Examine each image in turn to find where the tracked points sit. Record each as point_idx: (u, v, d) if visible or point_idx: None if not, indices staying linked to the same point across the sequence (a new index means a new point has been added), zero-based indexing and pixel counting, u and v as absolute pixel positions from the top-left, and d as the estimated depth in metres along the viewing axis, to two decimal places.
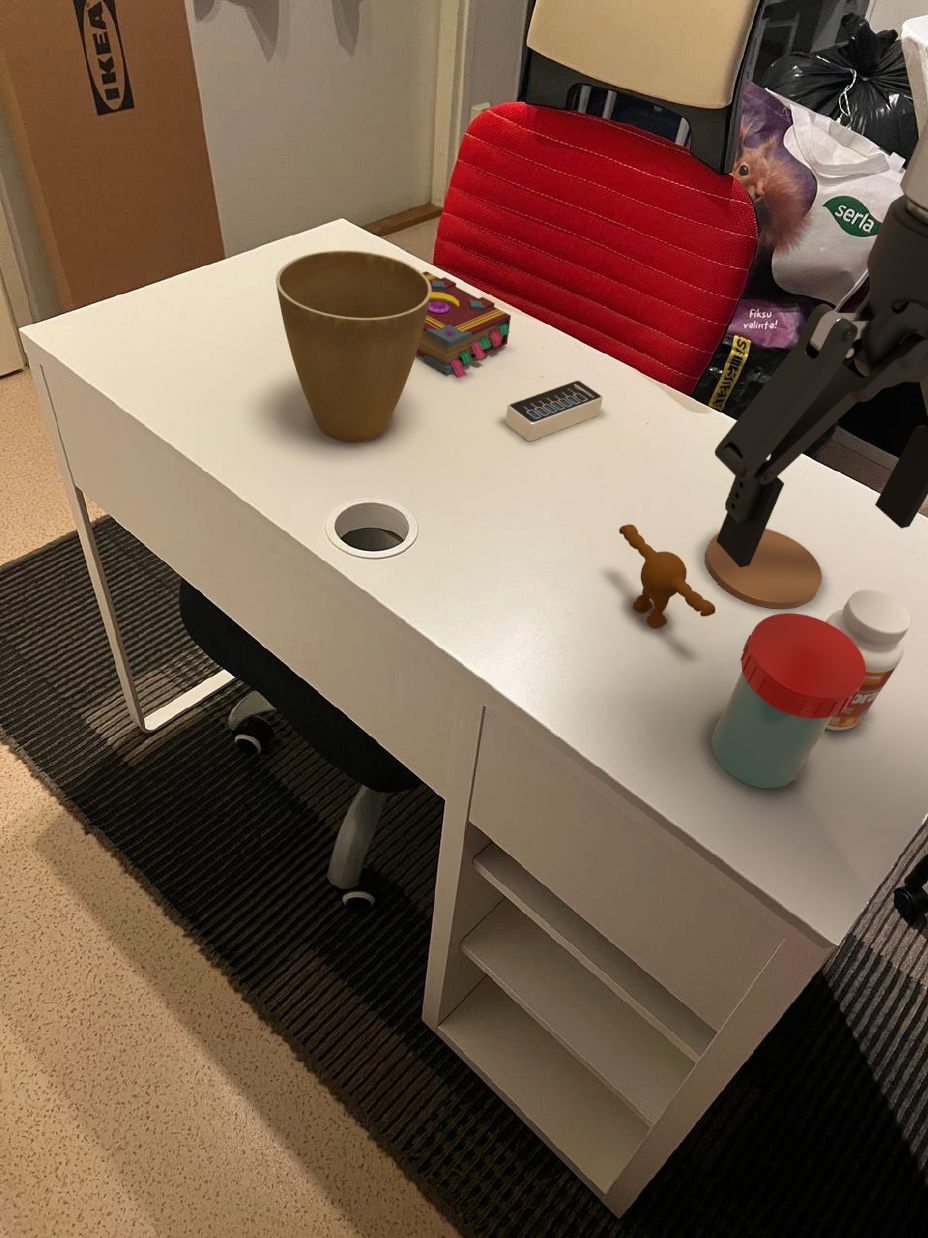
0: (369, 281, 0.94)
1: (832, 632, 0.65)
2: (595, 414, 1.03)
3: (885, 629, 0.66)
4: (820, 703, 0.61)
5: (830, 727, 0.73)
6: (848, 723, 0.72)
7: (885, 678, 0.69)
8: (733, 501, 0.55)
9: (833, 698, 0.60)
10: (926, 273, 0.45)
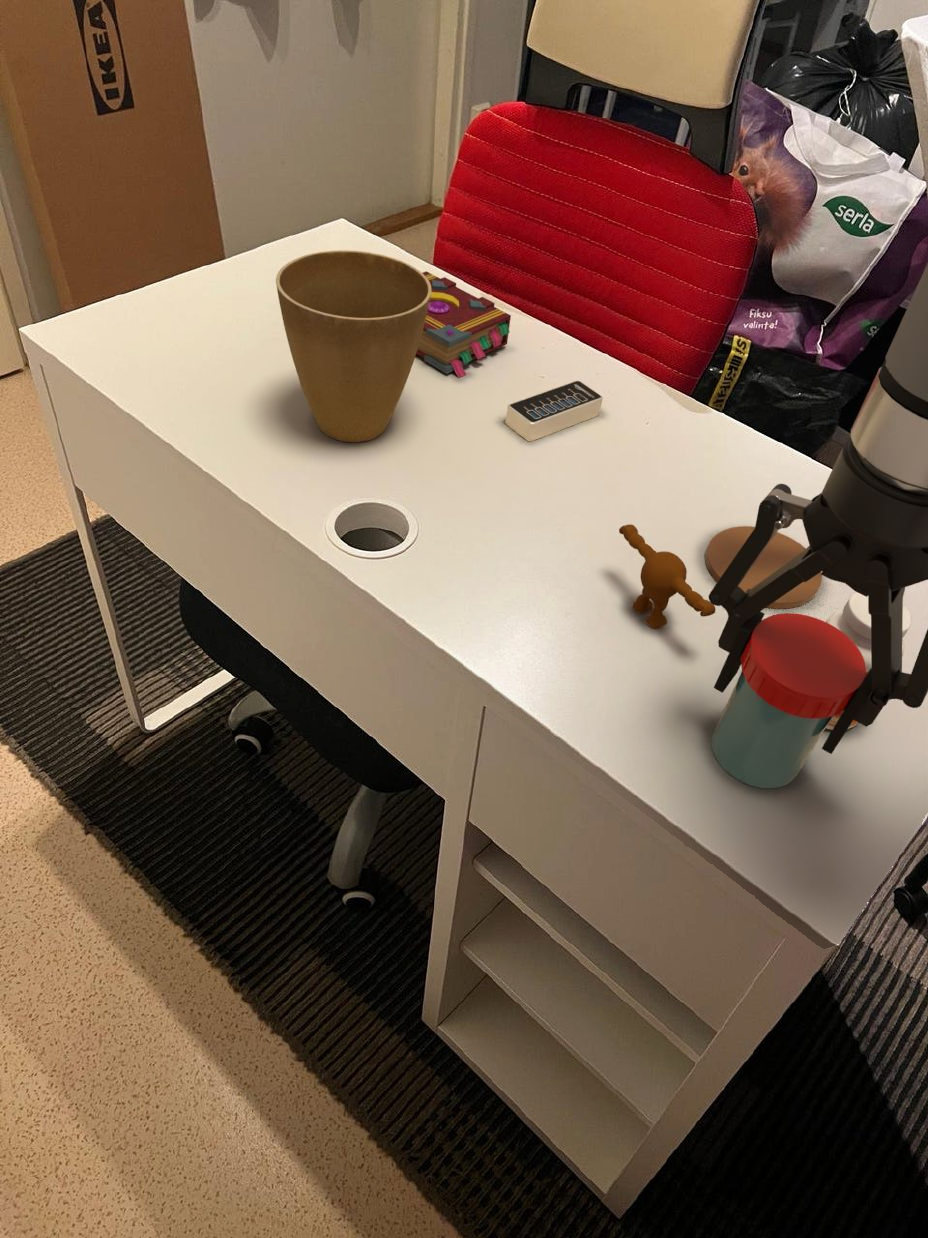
0: (369, 281, 0.94)
1: (832, 632, 0.65)
2: (595, 414, 1.03)
3: None
4: (820, 703, 0.61)
5: (830, 727, 0.73)
6: None
7: None
8: None
9: (833, 698, 0.60)
10: (833, 477, 0.53)
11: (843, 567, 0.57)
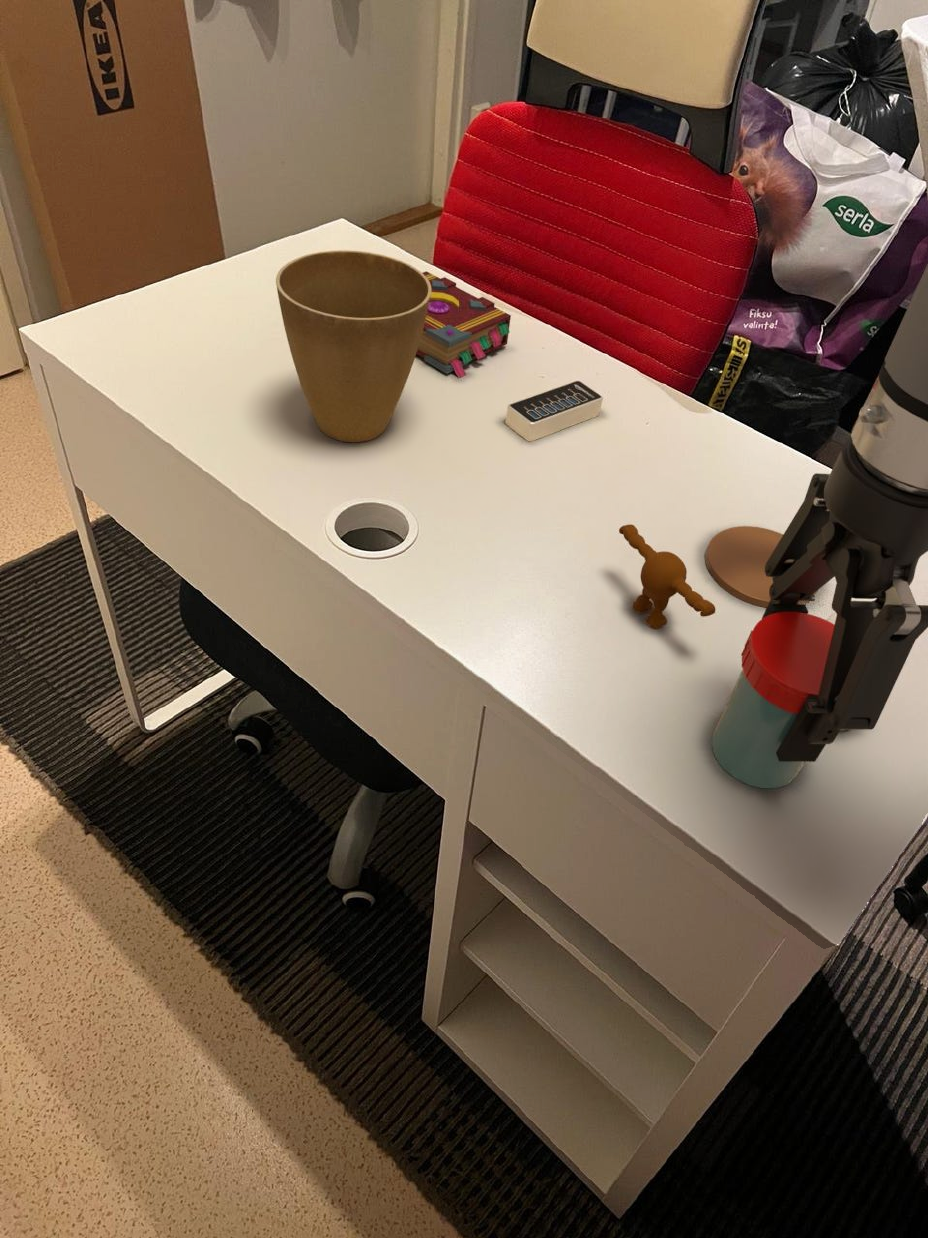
0: (369, 281, 0.94)
1: (761, 644, 0.63)
2: (595, 414, 1.03)
3: None
4: None
5: None
6: None
7: None
8: (825, 736, 0.60)
9: (831, 623, 0.65)
10: None
11: None
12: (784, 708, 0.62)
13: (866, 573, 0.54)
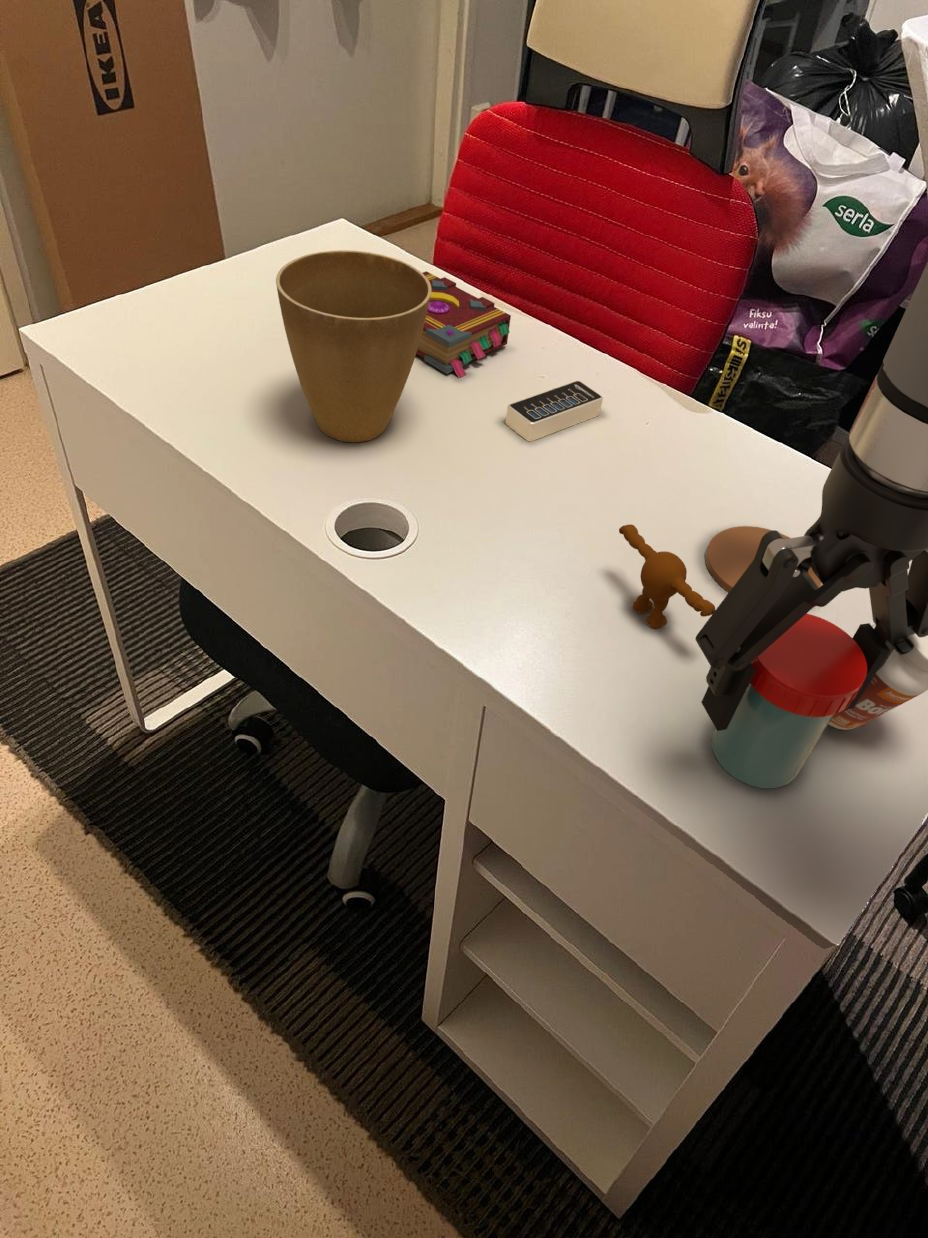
0: (369, 281, 0.94)
1: None
2: (595, 414, 1.03)
3: None
4: None
5: (836, 726, 0.72)
6: (854, 726, 0.72)
7: None
8: (712, 678, 0.63)
9: (832, 623, 0.65)
10: (863, 514, 0.51)
11: None
12: (784, 708, 0.62)
13: None
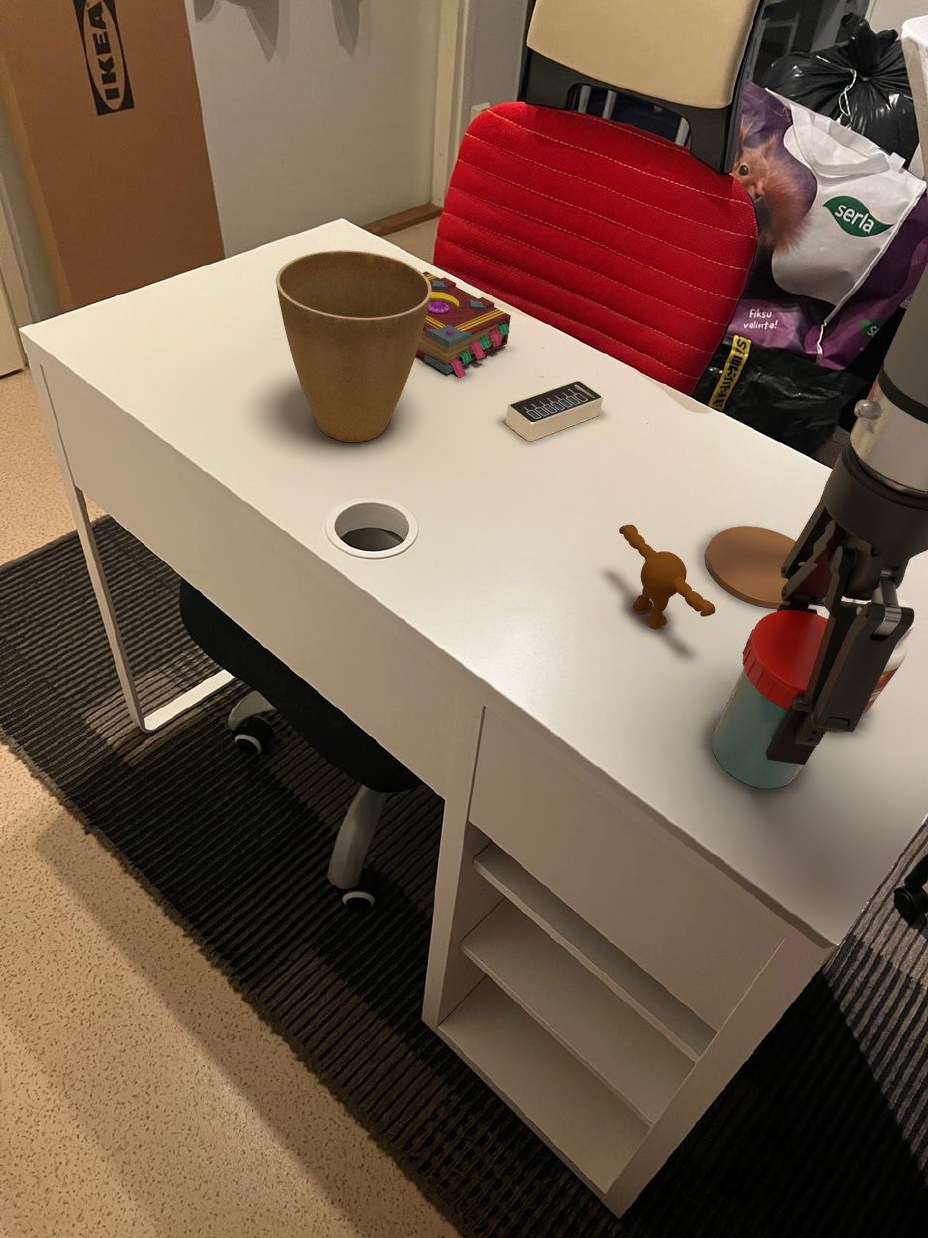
0: (369, 281, 0.94)
1: None
2: (595, 414, 1.03)
3: None
4: (750, 639, 0.64)
5: None
6: None
7: (887, 677, 0.69)
8: (809, 737, 0.60)
9: (752, 639, 0.63)
10: None
11: None
12: None
13: (856, 572, 0.54)
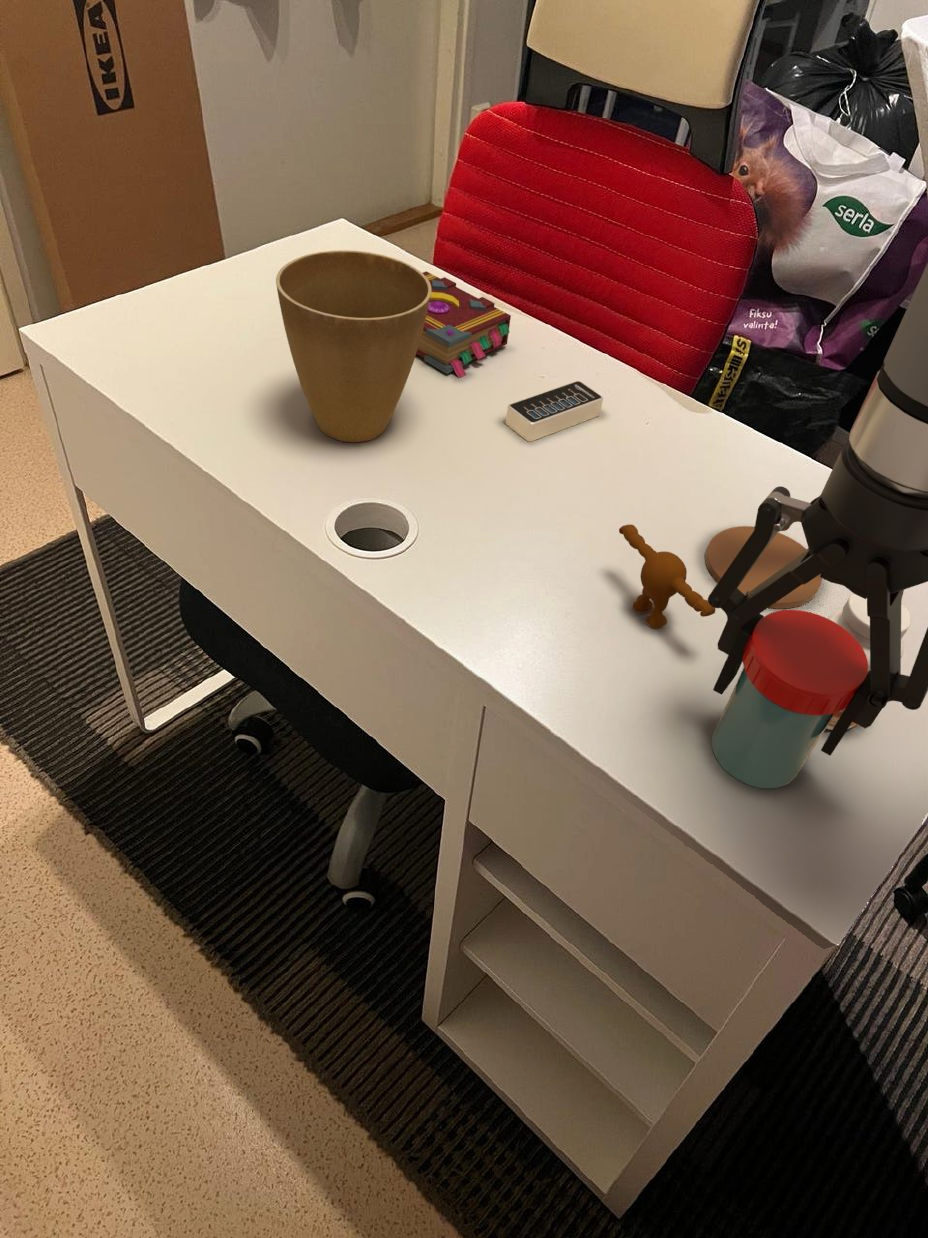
0: (369, 281, 0.94)
1: (847, 681, 0.61)
2: (595, 415, 1.03)
3: None
4: (750, 646, 0.64)
5: (830, 727, 0.73)
6: None
7: None
8: None
9: (753, 647, 0.63)
10: (832, 480, 0.53)
11: (842, 570, 0.57)
12: None
13: None
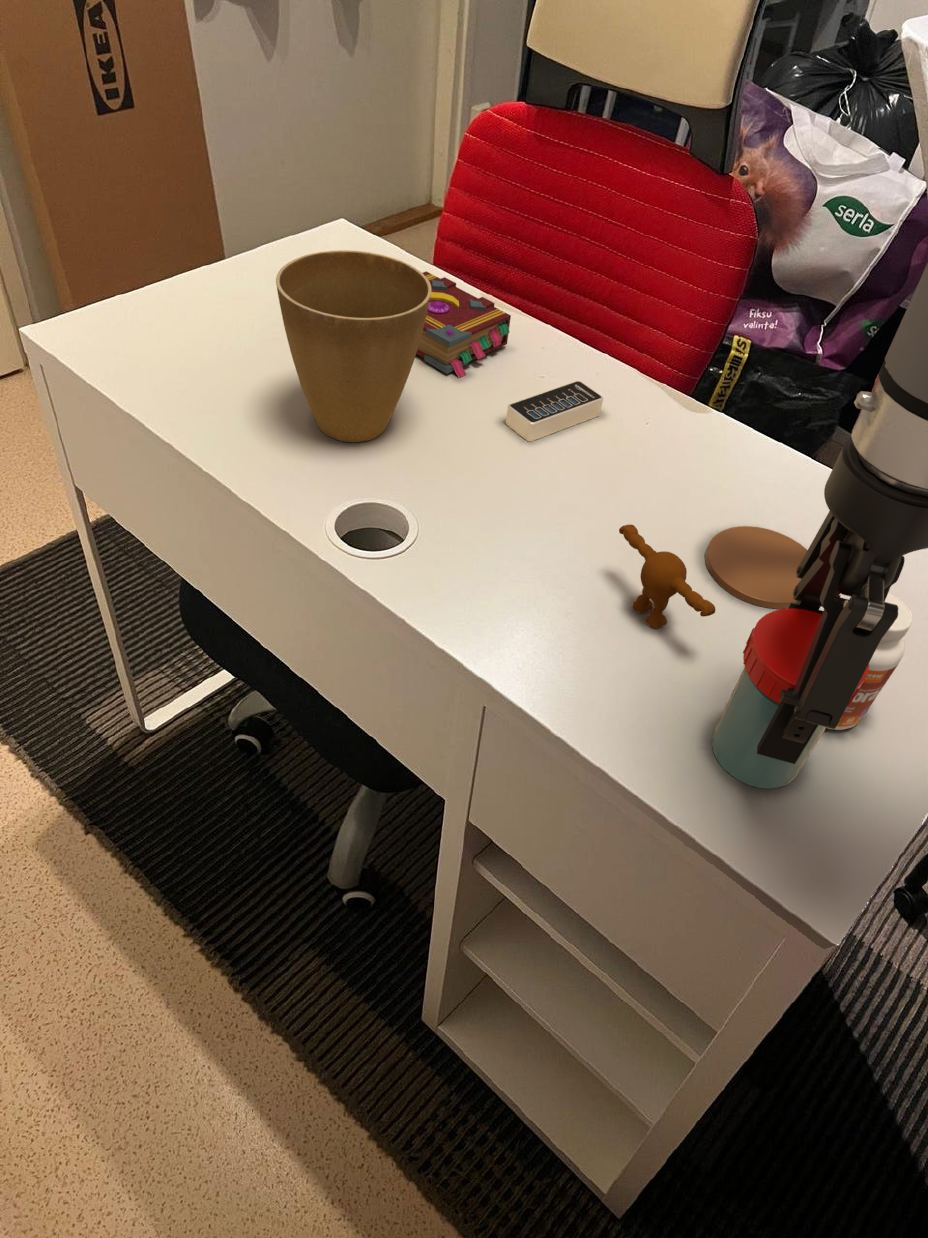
0: (369, 281, 0.94)
1: None
2: (595, 415, 1.03)
3: None
4: None
5: None
6: (848, 722, 0.72)
7: (886, 677, 0.69)
8: (796, 732, 0.60)
9: None
10: None
11: None
12: None
13: (850, 567, 0.54)
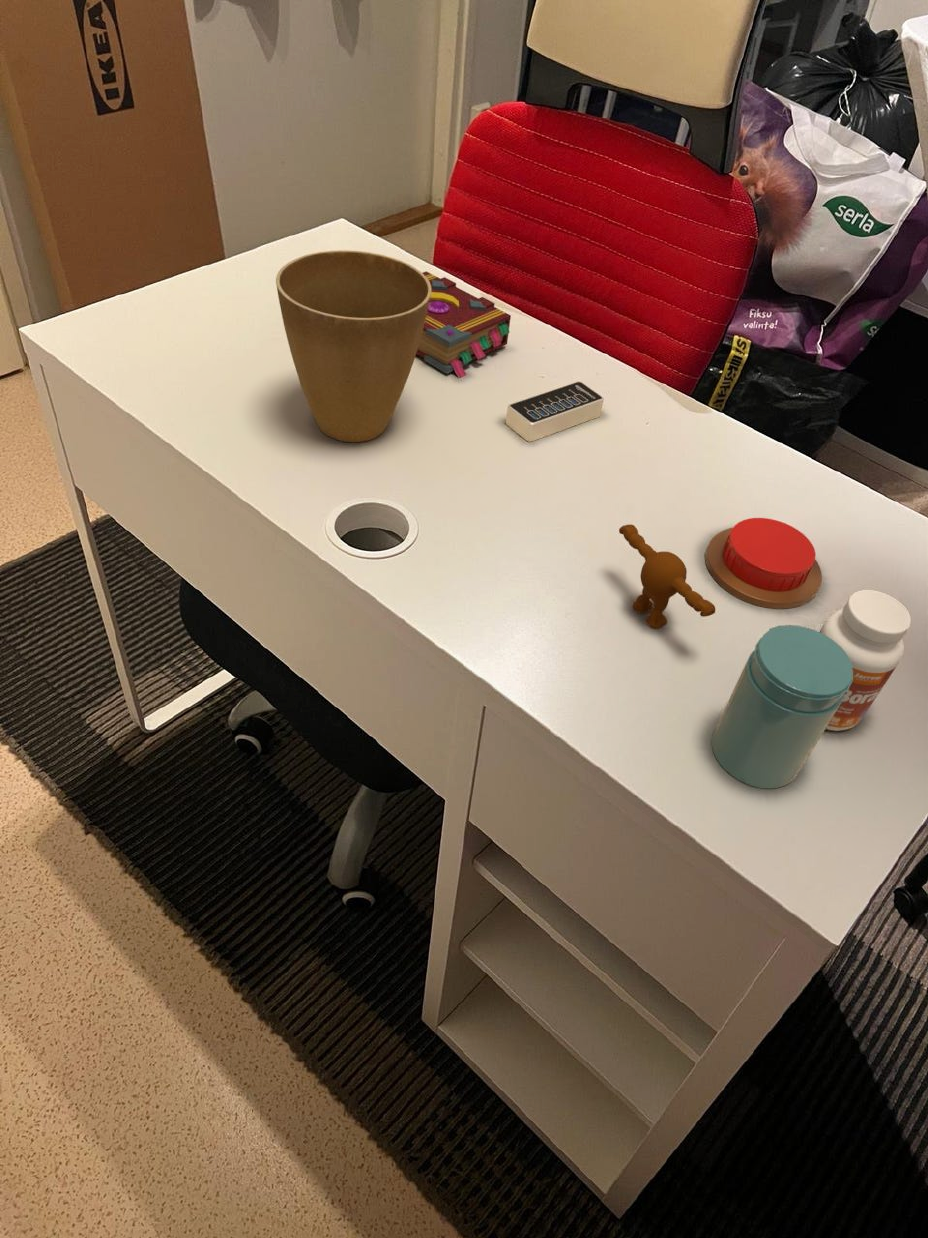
0: (369, 281, 0.94)
1: (747, 524, 0.87)
2: (596, 415, 1.03)
3: (885, 630, 0.66)
4: None
5: (830, 727, 0.73)
6: (847, 723, 0.72)
7: (884, 678, 0.69)
8: None
9: (813, 548, 0.85)
10: None
11: None
12: (727, 564, 0.86)
13: None
